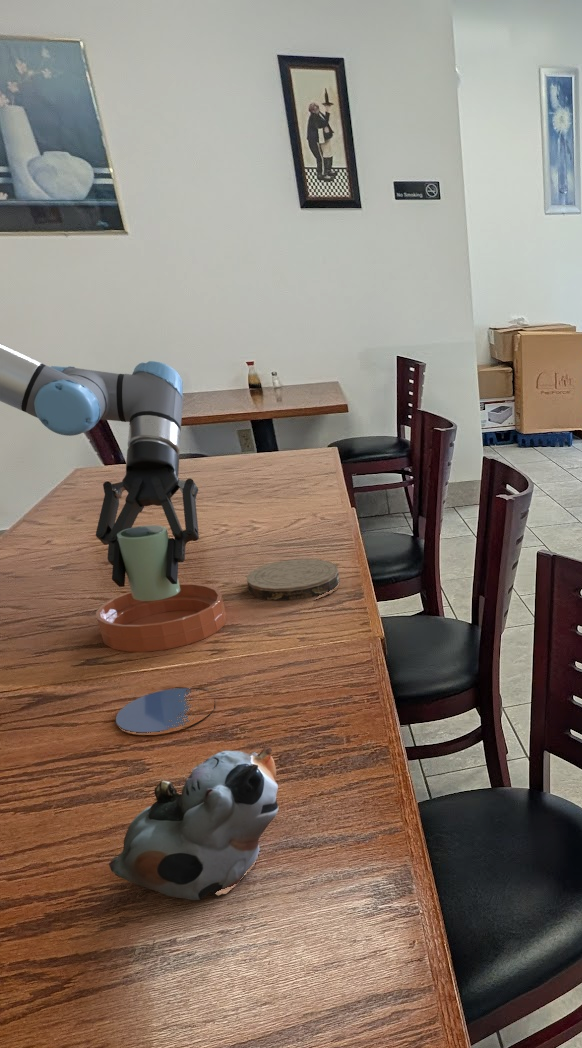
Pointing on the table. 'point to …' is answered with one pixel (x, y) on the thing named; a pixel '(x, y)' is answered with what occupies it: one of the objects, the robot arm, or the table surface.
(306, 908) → the table surface
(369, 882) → the table surface
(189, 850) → the lucky cat figurine
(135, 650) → the bowl
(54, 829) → the table surface
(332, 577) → the wood slice
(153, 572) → the cup
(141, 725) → the coaster
